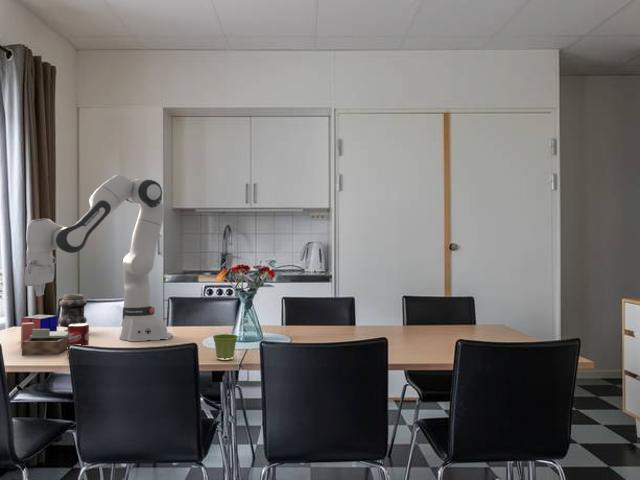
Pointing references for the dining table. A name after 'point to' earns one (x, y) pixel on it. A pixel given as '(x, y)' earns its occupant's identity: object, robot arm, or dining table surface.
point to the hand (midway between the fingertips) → (39, 295)
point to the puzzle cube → (42, 321)
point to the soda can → (78, 334)
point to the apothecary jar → (72, 310)
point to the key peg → (26, 331)
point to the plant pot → (225, 345)
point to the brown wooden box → (44, 346)
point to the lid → (48, 333)
